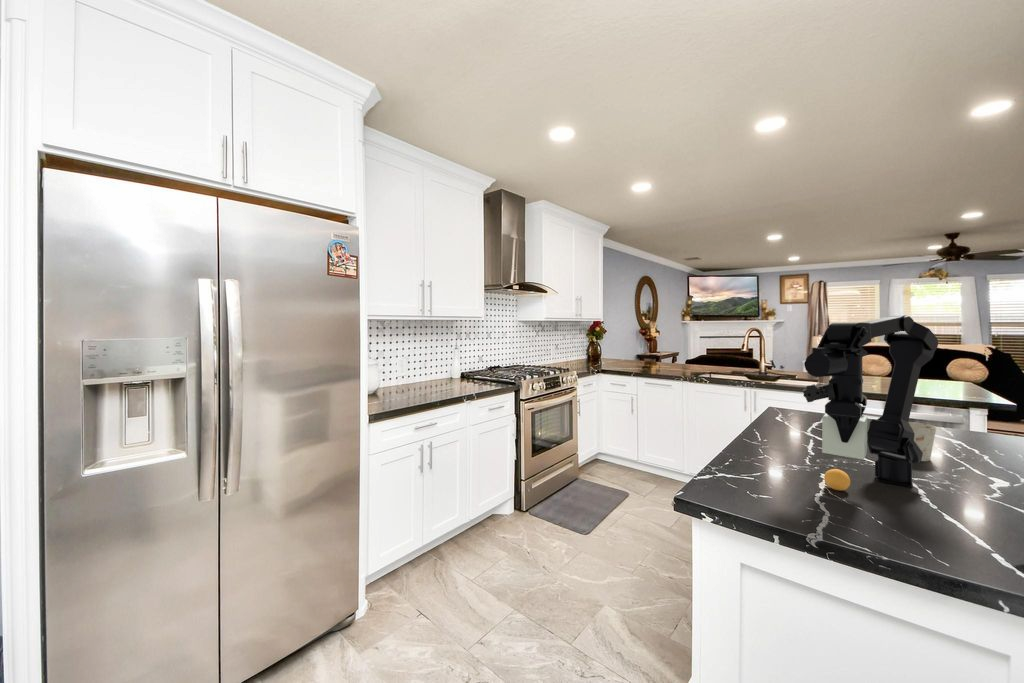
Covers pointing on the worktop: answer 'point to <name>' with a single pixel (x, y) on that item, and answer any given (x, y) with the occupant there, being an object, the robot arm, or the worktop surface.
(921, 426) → the mug
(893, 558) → the worktop surface
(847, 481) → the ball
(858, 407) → the robot arm
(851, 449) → the pale green block
